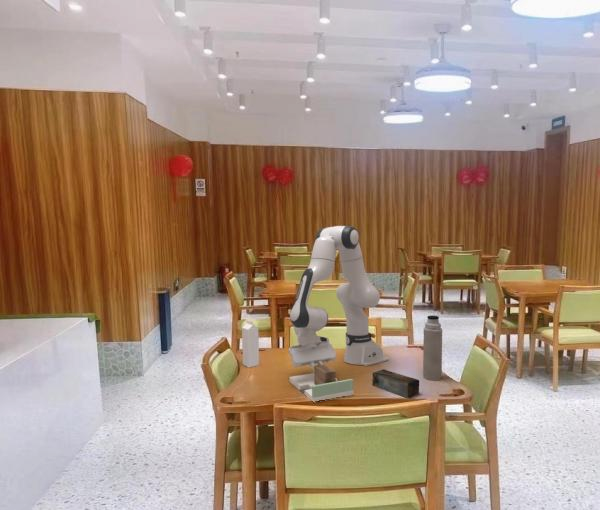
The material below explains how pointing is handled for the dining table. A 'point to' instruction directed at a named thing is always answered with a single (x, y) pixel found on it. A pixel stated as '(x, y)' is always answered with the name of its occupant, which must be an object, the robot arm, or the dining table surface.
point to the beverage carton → (396, 383)
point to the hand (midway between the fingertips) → (318, 372)
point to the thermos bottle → (432, 349)
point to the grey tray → (322, 387)
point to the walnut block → (323, 374)
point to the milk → (250, 344)
